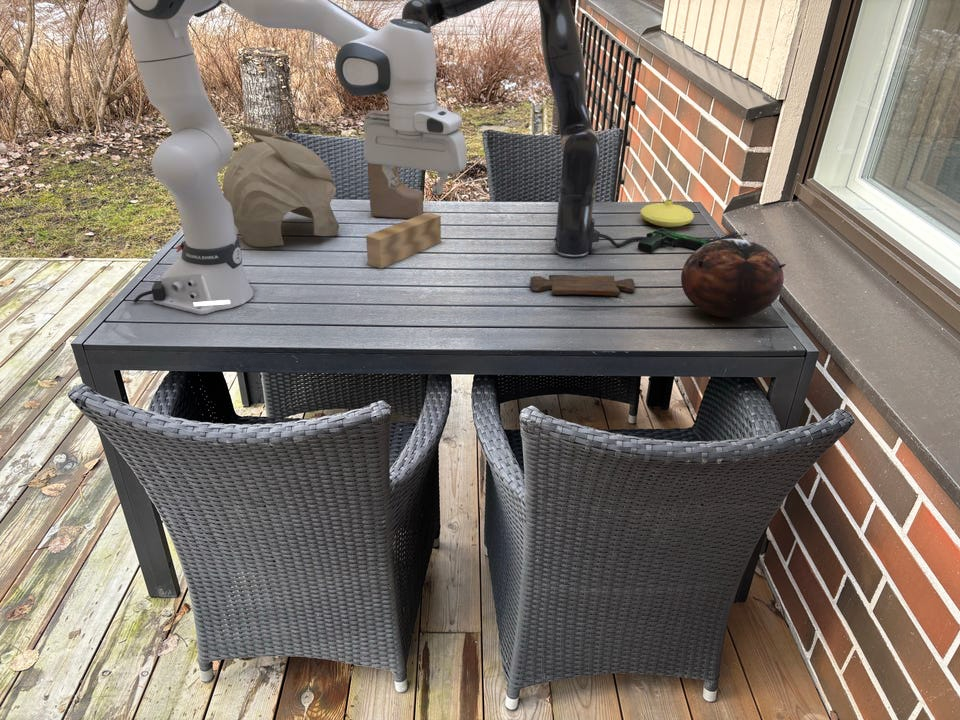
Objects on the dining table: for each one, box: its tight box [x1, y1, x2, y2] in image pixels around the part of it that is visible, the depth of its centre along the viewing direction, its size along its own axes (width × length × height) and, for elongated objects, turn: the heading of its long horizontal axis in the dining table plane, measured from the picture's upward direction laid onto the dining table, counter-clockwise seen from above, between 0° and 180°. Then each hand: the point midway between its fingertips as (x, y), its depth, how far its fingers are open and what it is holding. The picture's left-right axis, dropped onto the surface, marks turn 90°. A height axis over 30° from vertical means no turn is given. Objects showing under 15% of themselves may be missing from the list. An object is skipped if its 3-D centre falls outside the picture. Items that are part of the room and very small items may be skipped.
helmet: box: [222, 125, 340, 248], centre depth 196 cm, size 27×30×30 cm
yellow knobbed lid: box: [640, 198, 695, 228], centre depth 215 cm, size 16×16×7 cm
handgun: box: [637, 227, 709, 254], centre depth 199 cm, size 16×3×15 cm
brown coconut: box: [680, 238, 787, 319], centre depth 162 cm, size 22×18×20 cm
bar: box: [365, 211, 442, 270], centre depth 192 cm, size 24×5×8 cm, turn 142°
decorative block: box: [364, 109, 424, 219], centre depth 212 cm, size 8×15×30 cm, turn 82°
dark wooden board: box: [529, 274, 635, 297], centre depth 175 cm, size 26×2×10 cm
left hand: (415, 190), depth 139 cm, fingers open, 8 cm apart
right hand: (424, 152), depth 187 cm, fingers open, 8 cm apart
